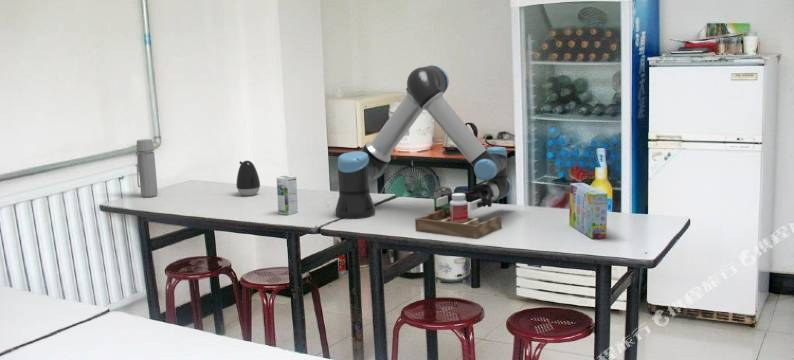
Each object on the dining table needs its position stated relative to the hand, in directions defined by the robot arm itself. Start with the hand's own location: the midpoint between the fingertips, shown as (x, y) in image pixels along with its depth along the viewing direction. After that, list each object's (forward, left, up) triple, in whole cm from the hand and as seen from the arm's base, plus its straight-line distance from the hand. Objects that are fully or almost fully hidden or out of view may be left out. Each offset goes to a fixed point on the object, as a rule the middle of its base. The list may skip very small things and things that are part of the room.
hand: (453, 204), depth 291 cm
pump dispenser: (-92, -70, -9) cm, 116 cm away
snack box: (+15, +42, -9) cm, 46 cm away
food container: (-24, +2, -9) cm, 26 cm away
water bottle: (-104, -114, -9) cm, 155 cm away
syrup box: (-48, -55, -9) cm, 74 cm away
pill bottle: (-2, +2, -8) cm, 9 cm away
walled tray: (-2, +2, -9) cm, 10 cm away
